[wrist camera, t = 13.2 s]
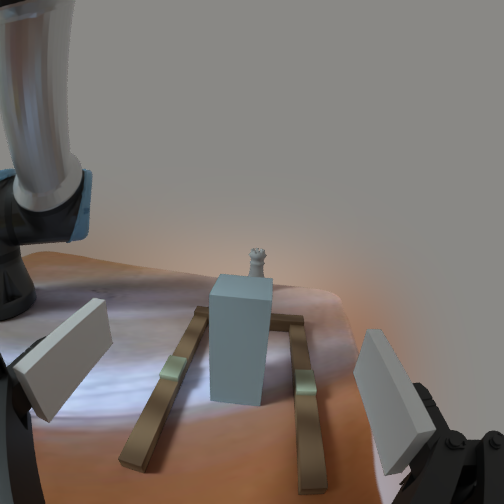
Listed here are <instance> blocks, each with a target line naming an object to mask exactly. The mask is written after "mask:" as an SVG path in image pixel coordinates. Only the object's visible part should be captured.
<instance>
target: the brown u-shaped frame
mask: <svg viewBox="0 0 504 504" xmlns="http://www.w3.org/2000/svg"><path fill="white" fill-rule="evenodd" d="M207 324H209V307H202V306H197V308H196V309H195V311H194V317H193V318H192V320H191V322H190V324H189V326H188V328H187V329H186V331H185V333H184V335H183V337H182V338H181V340H180V342H179V344H178V346H177V348H176V349H175V351H174V353H173V355H170V356H169V357H168V359H167V361H166V363H165V365H164V367H163V368H162V370H161V372H160V374H159V376H160V379H159V381H158V383H157V385H156V387H155V389H154V391H153V392H152V394H151V396H150V398H149V400H148V402H147V404H146V406H145V408H144V410H143V411H142V413H141V415H140V417H139V419H138V421H137V423H136V425H135V427H134V429H133V431H132V433H131V435H130V437H129V438H128V440H127V442H126V444H125V446H124V448H123V450H122V452H121V454H120V456H119V458H118V460H119V462H120V463H121V465H122V466H123V467H126V468H129V469H132V470H135V471H139V472H142V473H144V472H145V470H146V468H147V465H148V463H149V460H150V458H151V455H152V453H153V451H154V448H155V446H156V443H157V441H158V439H159V436H160V434H161V431H162V429H163V427H164V424H165V422H166V419H167V417H168V415H169V412H170V410H171V408H172V405H173V403H174V401H175V398H176V396H177V393H178V391H179V389H180V386H181V384H182V382H183V379H184V377H185V375H186V372H187V370H188V368H189V365H190V363H191V361H192V358H193V356H194V354H195V352H196V349H197V347H198V345H199V342H200V340H201V338H202V335H203V333H204V331H205V328H206V326H207ZM269 330H271V331H285V332H289V337H290V350H291V363H292V376H293V391H294V406H295V423H296V442H297V464H298V493H299V495H308V494H324V493H325V491H326V490H327V489H328V483H327V475H326V466H325V458H324V451H323V443H322V436H321V429H320V422H319V415H318V408H317V401H316V392H317V390H316V384H315V378H314V372H313V370H311V364H310V358H309V352H308V347H307V341H306V335H305V330H304V318H303V316H301V315H286V314H273V313H271V317H270V326H269Z"/></svg>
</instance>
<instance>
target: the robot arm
mask: <svg viewBox="0 0 504 504" xmlns="http://www.w3.org/2000/svg"><path fill="white" fill-rule="evenodd" d="M74 4H75V0H0V112H1V117H2V122H3V127H4V131H5V135H6V139H7V143H8V147H9V151H10V154H11V158H12V161H13V165H14V168H15V169H5V170H0V320H4V319H8V318H11V317H13V316H16V315H18V314H20V313H22V312H24V311H25V310H27V309H28V308H29V307H30V306H31V305H32V304H33V303H34V302H35V300H36V293H35V288H34V284H33V282H32V280H31V278H30V276H29V274H28V271H27V269H26V267H25V265H24V263H23V261H22V258H21V253H20V245H31V244H43V243H56V242H66V243H70V242H71V241H77V240H82V239H84V238H86V236H87V235H88V232H89V216H90V200H91V187H92V172H91V171H90V170H86V169H82V167H81V163H80V161H79V160H78V158H77V157H76V156H75V155H73V154H72V153H70V144H69V131H68V111H67V74H68V54H69V42H70V32H71V24H72V16H73V10H74ZM112 344H113V342H112V337H111V332H110V326H109V320H108V314H107V308H106V301H105V300H102V299H97V298H93V299H92V300H90V301H89V302H88V303H87V304H85V305H84V306H83V307H82V308H81V309H79V310H78V311H77V312H76V313H74V314H73V315H72V316H71V317H70V318H68V319H67V320H66V321H65V322H64V323H62V324H61V325H60V326H59V327H58V328H56V329H55V330H54V331H53V332H52V333H51V334H49V335H48V336H47V337H46V336H45V337H43V338H41V339H39V340H37V341H36V342H35V343H33V344H32V345H31V346H30V348H28V349H26V350H25V352H23V353H22V354H21V355H20V356H19V357H17V358H16V359H15V360H14V361H13V362H12V363H11V364H10V365H9V366H8V367H6V365H5V363H4V360H3V358H2V355H1V353H0V504H45V500H44V496H43V492H42V488H41V483H40V479H39V474H38V469H37V463H36V457H35V450H34V442H33V434H32V423H31V415H30V413H29V410H30V409H31V407H32V408H33V410H34V412H35V413H36V415H37V416H38V417H39V418H41V419H43V420H45V421H47V422H48V423H50V421H51V420H52V419H53V418H54V416H55V415H56V414H57V412H58V411H59V410H60V408H61V407H62V406H63V404H64V403H65V402H66V401H67V399H68V398H69V397H70V396H71V394H72V393H73V392H74V390H75V389H76V388H77V387H78V385H79V384H80V383H81V382H82V380H83V379H84V378H85V377H86V376H87V374H88V373H89V372H90V371H91V369H92V368H93V367H94V366H95V365H96V363H97V362H98V361H99V360H100V358H101V357H102V356H103V355H104V354H105V352H106V351H107V350H108V349H109V348H110V347H111V345H112ZM353 374H354V377H355V380H356V383H357V386H358V389H359V392H360V395H361V398H362V401H363V404H364V407H365V410H366V414H367V417H368V420H369V423H370V426H371V430H372V433H373V436H374V440H375V443H376V447H377V450H378V454H379V457H380V461H381V464H382V468H383V472H384V475H385V476H387V475H392V474H397V473H402V472H403V470H404V469H405V468H406V467H407V466H408V465H409V466H410V469H411V472H410V473H409V474H408V475H407V476H406V477H405V478H404V479H403V481H402V482H401V483H400V485H402V484H403V485H402V487H401V488H400V490H399V492H398V494H397V495H396V497H395V499H394V500H393V502H392V504H504V435H503V434H501V433H500V432H498V431H489V432H488V433H486V434H485V436H484V437H483V438H482V439H481V440H467V439H466V438H465V436H464V435H463V434H462V433H460V432H458V431H454V430H450V429H449V427H448V425H447V423H446V421H445V419H444V418H443V416H442V414H441V412H440V410H439V408H438V407H437V406H436V403H435V401H434V400H432V396H431V394H430V393H429V391H428V389H426V388H425V387H424V386H423V385H422V384H421V383H412V382H411V380H410V378H409V377H408V375H407V373H406V371H405V369H404V368H403V366H402V364H401V362H400V361H399V359H398V357H397V355H396V354H395V352H394V350H393V349H392V347H391V345H390V343H389V342H388V340H387V339H386V337H385V335H384V334H383V332H382V330H380V329H367V331H366V334H365V338H364V341H363V344H362V347H361V351H360V354H359V357H358V360H357V363H356V366H355V369H354V372H353Z"/></svg>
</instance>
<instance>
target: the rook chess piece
mask: <svg viewBox="0 0 504 504" xmlns="http://www.w3.org/2000/svg"><path fill="white" fill-rule="evenodd" d="M249 255H250V257H251V261H250V264H251V265H250V271H249V275H248V276H249V277H261V278H264V274H263V265H264V264H265V263H264V258H265V257H266V254H265V250H263V249H260V251H258V248H256V251H255V250H254V248H253V249H251V253H250V254H249Z"/></svg>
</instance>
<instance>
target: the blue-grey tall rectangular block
mask: <svg viewBox="0 0 504 504" xmlns="http://www.w3.org/2000/svg"><path fill="white" fill-rule="evenodd" d="M272 286H273V279H272V278H261V277H249V276H237V275H226V274H220V275H219V277H218V279H217V281H216V283H215V285H214V287H213V289H212V290H211V292H210V294H209V364H210V401H217V402H225V403H233V404H242V405H252V406H260V402H261V394H262V386H263V378H264V370H265V362H266V353H267V344H268V335H269V326H270V317H271V308H272Z"/></svg>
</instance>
